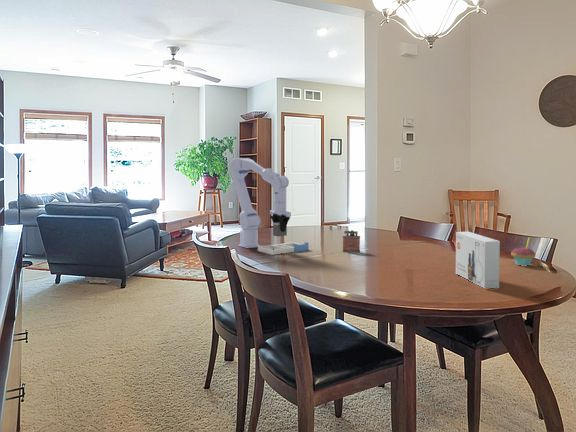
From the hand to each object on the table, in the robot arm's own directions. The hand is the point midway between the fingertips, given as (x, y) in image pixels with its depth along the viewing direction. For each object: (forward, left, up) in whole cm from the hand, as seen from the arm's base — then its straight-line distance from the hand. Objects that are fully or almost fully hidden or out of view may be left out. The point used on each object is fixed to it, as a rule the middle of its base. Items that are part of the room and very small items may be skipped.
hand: (280, 230), depth 211 cm
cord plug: (0, 0, -2) cm, 2 cm away
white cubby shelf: (0, +2, -9) cm, 10 cm away
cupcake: (+84, +59, -10) cm, 103 cm away
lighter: (+22, +25, -10) cm, 35 cm away
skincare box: (+87, +20, -10) cm, 90 cm away
